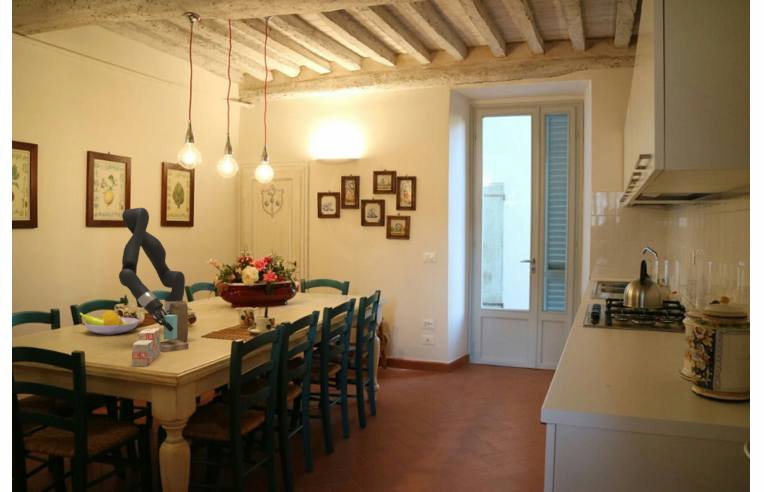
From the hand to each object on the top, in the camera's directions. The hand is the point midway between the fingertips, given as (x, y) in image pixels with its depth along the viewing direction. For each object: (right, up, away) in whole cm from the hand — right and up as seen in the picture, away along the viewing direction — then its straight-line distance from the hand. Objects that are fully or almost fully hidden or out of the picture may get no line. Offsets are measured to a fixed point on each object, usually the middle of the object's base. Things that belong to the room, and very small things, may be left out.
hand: (174, 329), depth 269 cm
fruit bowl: (-48, -7, +36) cm, 60 cm away
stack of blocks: (-4, -11, -22) cm, 25 cm away
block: (-5, -9, +18) cm, 20 cm away
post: (-2, -5, 0) cm, 5 cm away
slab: (-2, -10, +1) cm, 10 cm away
